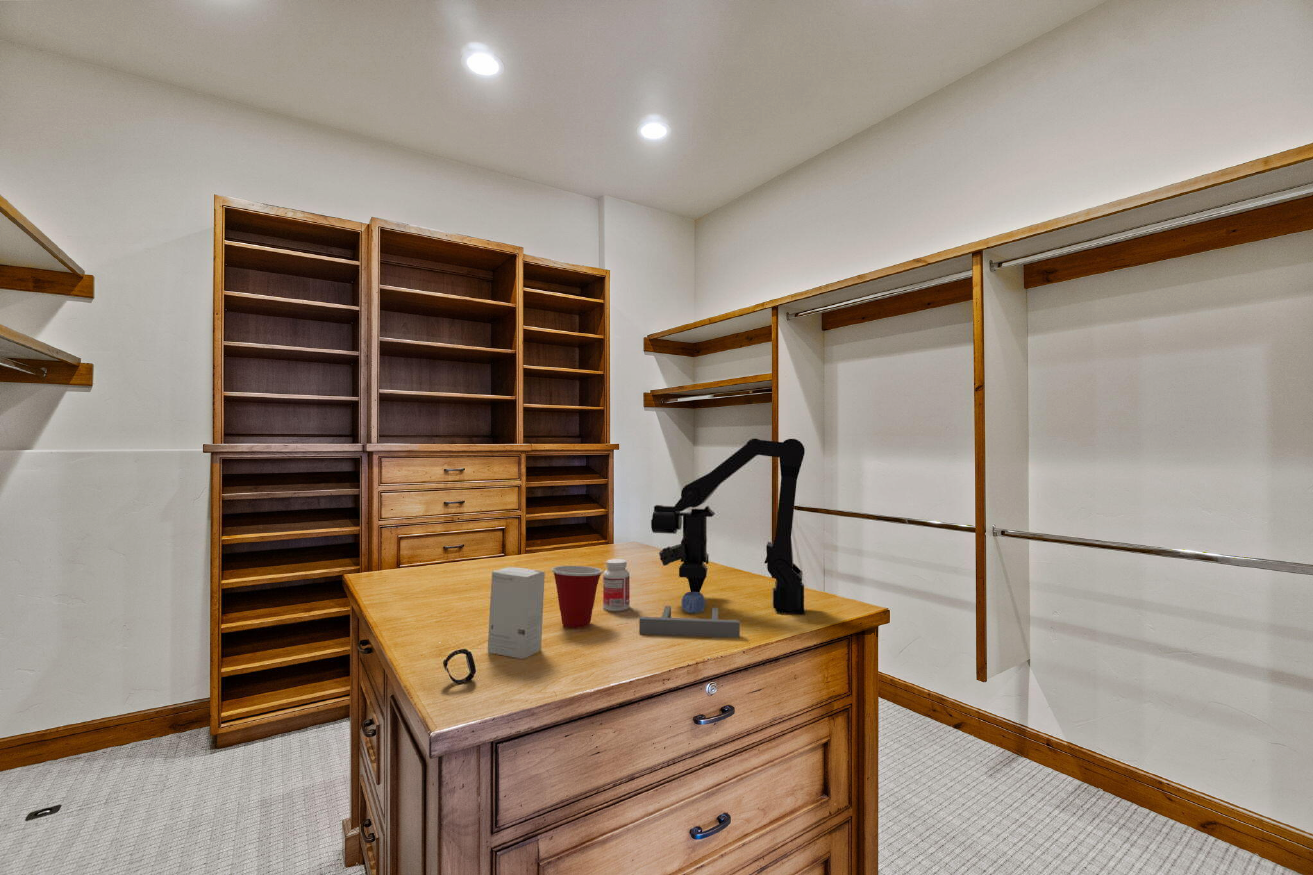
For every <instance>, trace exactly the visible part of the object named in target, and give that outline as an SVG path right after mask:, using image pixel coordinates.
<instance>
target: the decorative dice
mask: <svg viewBox="0 0 1313 875" xmlns="http://www.w3.org/2000/svg"><path fill="white" fill-rule="evenodd" d="M706 604H707V603H706V598H705V596H704V595H703V593H702V592H700V593H699V592H691V591H688V592H685V593H684V594H683V596H682V598H681V607H682V609H683V611H684V612H685V613H687V612H688V614H692V613H696V614H700V612H701V613H702V612H703V611H704V609H705V607H706Z"/></svg>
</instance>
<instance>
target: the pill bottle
mask: <svg viewBox="0 0 1313 875" xmlns="http://www.w3.org/2000/svg"><path fill="white" fill-rule="evenodd" d="M605 565H606V568H607V569H606V570H605V571H603V574H602V584H603V585H602V587H603V588H602V590H603V591H602V592H603V593H602V595H603V597H602V598H603V599H602V604H603V609H604V610H605V611H609V612H623V611H626V610H627V611H628V609H629V608H630V605H631V604H630V592H631V590H630V585H631V584H630V579H631V578H630V572H629V570H628V569H627V568H626V567H627V560H626V559H623V558H612V559H608V560H607V561H606V564H605Z"/></svg>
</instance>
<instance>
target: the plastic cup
mask: <svg viewBox="0 0 1313 875" xmlns="http://www.w3.org/2000/svg"><path fill="white" fill-rule="evenodd" d="M551 571H552V573H553V576H554V580H555V581H554V582H555V586H556V592H557V599H558V601H557V602H558V606H559V612H560V616H561V623H562V626H563V627H564V628H566V629H575V630H576V629H583V628H587V627H588V626H590V625H591V624H590V623H591V621H592V615H593V610H594V606H595V601H596V593H597V589H598V585H599V581H600V578H601V575H602V573H604V570H603V569H601V568H599V567H594V566H588V565H586V566H584V565H560V566H554V567H552V568H551Z"/></svg>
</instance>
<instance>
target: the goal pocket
mask: <svg viewBox="0 0 1313 875" xmlns="http://www.w3.org/2000/svg"><path fill="white" fill-rule="evenodd" d="M638 621H639V623H638V624H639V626H638V628H639V629H638V630H639V631H638V633H639V635H657V636H658V635H659V636H661V635H664V636H686V637H687V636H688V637H705V636H707V638H708V637H709V638H734V639H735V638H736V639H739V638H741V634H740V629H741V628H740V627H741V624H740V623H741V622H740V620H739V619H719V607H712V610H711V618H686V617H685V618H684V617H683V618H682V617H672V606H671V605H665V606H664V610H663V612H662V615H661V617H656V616H640V617H639V620H638Z"/></svg>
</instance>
